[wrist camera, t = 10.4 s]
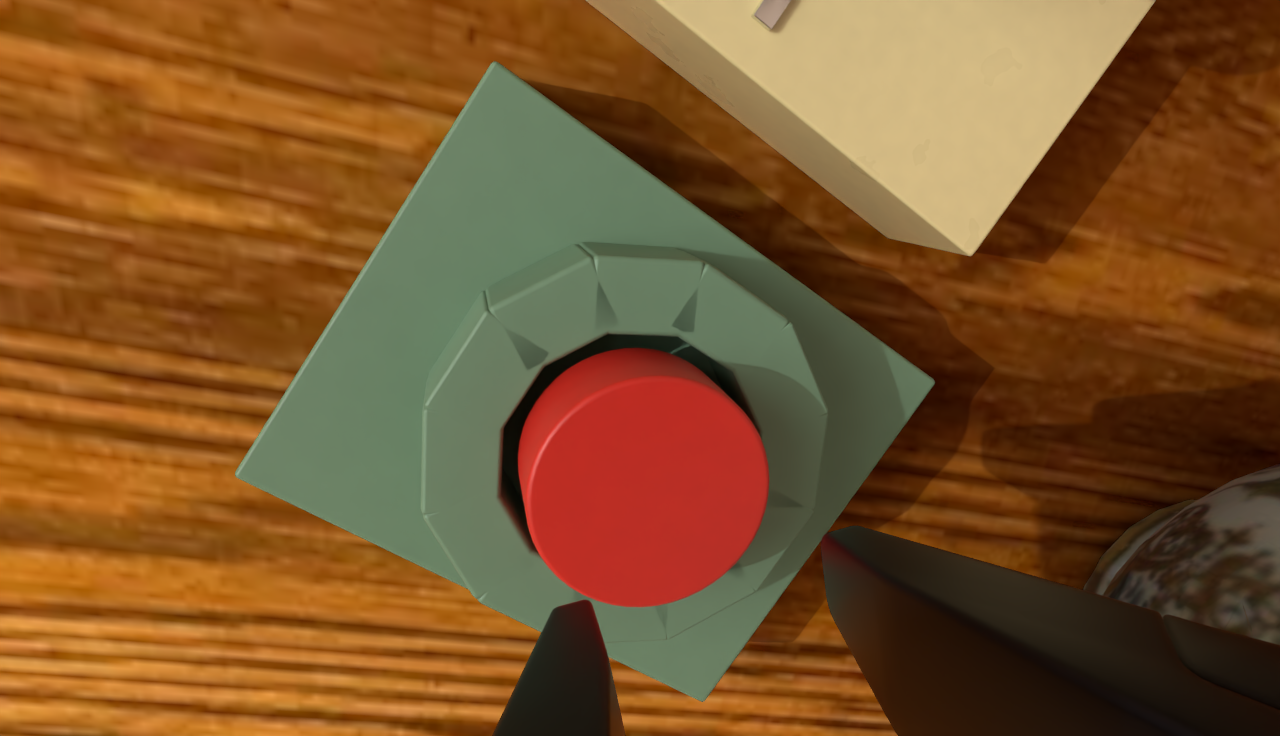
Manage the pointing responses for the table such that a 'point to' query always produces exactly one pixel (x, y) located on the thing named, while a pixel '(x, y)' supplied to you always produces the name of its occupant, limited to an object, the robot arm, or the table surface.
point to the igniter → (546, 347)
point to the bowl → (1205, 559)
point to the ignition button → (640, 478)
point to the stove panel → (896, 92)
